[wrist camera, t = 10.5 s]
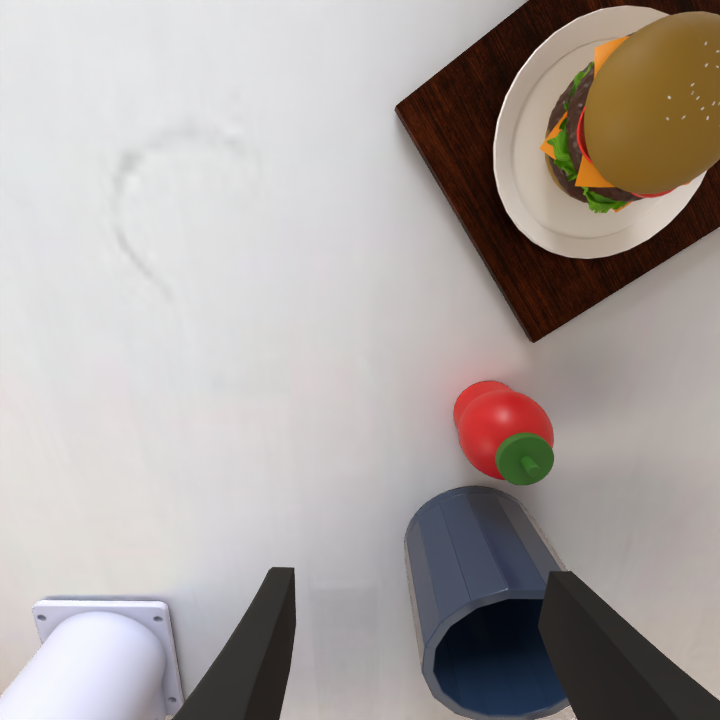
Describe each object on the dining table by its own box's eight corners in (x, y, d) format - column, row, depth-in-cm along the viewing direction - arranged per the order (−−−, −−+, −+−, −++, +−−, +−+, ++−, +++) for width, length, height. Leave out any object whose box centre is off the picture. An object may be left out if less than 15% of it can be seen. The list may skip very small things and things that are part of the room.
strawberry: (518, 446, 20) (577, 517, 14) (443, 444, 20) (475, 515, 14) (529, 375, 18) (598, 424, 13) (450, 373, 18) (487, 422, 13)
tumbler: (524, 593, 22) (588, 724, 16) (400, 592, 22) (417, 722, 16) (544, 487, 20) (626, 591, 14) (407, 484, 20) (429, 588, 14)
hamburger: (529, 340, 18) (600, 377, 13) (394, 110, 15) (414, 33, 10) (773, 187, 16) (976, 155, 11) (670, -109, 13) (877, -348, 8)
